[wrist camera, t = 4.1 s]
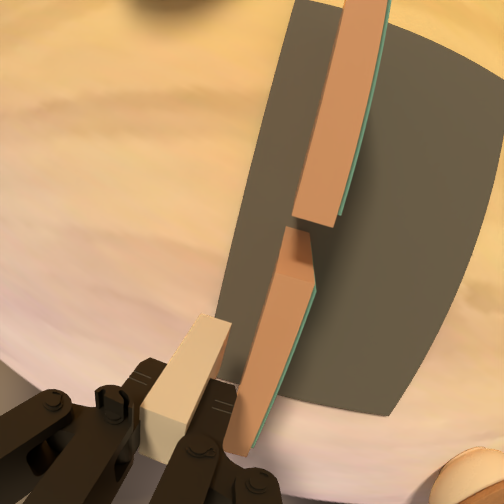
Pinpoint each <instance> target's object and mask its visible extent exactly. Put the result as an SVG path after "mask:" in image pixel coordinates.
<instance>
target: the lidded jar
mask: <svg viewBox="0 0 504 504" xmlns="http://www.w3.org/2000/svg"><path fill="white" fill-rule="evenodd" d="M429 504H504V453H503V452H501V451H499V450H495V449H486V448H485V447H475V448H472V449H469V450H466V451H464V452H462V453H460V454H459V455H457V456H455V457H454V458H452V459H451V460H450V461H449V462H448V463H446V464H445V465H444V467H443V468H442V469H441V471H440V473H439V476H438V478H437V479H436V481H435V483H434V484H433V487H432V489H431V492H430V496H429Z"/></svg>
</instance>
